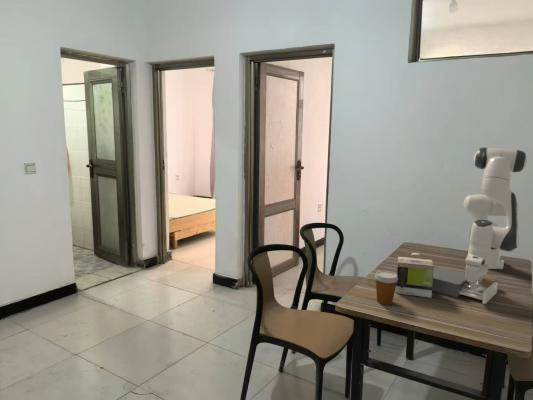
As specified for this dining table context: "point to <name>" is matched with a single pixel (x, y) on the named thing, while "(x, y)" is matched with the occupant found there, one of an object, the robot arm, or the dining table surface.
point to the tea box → (414, 277)
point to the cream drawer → (483, 296)
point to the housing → (447, 281)
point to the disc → (477, 288)
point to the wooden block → (488, 281)
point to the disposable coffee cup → (385, 286)
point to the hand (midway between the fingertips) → (475, 287)
